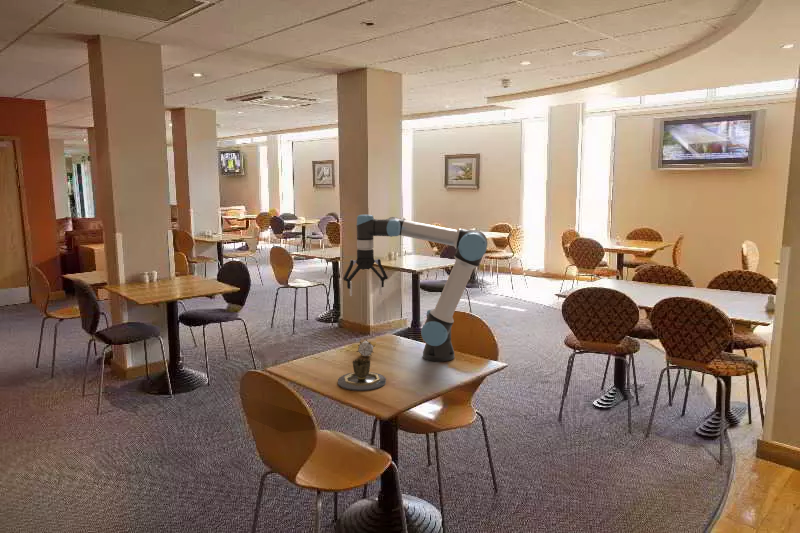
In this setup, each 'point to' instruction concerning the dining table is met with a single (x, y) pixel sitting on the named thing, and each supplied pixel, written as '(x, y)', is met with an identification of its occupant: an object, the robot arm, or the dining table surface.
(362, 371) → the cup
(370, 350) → the game die
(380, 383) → the carrier plate
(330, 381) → the dining table surface
